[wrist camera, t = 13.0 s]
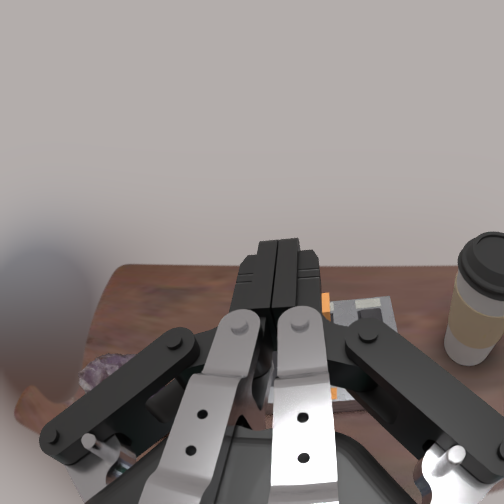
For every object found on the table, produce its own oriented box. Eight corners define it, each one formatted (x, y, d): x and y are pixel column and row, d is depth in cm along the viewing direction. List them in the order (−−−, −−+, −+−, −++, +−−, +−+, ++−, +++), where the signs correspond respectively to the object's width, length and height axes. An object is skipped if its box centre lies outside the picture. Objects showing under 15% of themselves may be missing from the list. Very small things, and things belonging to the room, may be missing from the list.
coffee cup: (422, 340, 35) (444, 244, 26) (464, 305, 37) (488, 212, 28) (469, 387, 28) (517, 296, 19) (508, 344, 29) (551, 252, 21)
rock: (168, 454, 31) (188, 384, 39) (143, 432, 26) (171, 350, 33) (89, 428, 33) (113, 368, 41) (55, 401, 28) (88, 333, 35)
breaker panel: (387, 311, 40) (390, 290, 37) (402, 405, 29) (409, 389, 27) (256, 321, 44) (250, 301, 42) (242, 413, 33) (232, 398, 31)
